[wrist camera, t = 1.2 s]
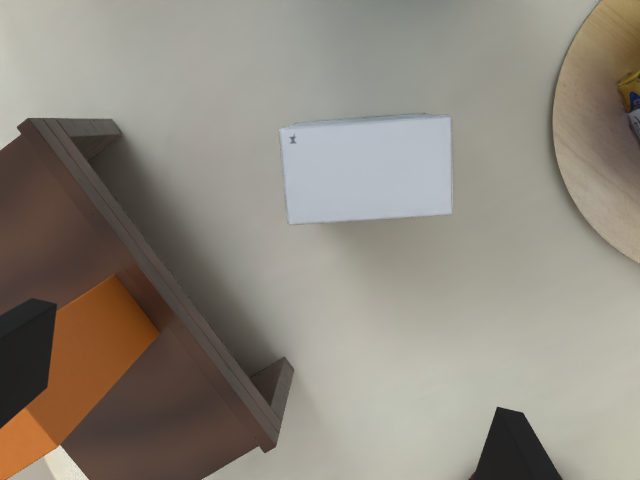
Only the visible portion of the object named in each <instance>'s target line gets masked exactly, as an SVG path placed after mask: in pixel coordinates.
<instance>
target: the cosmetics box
mask: <svg viewBox="0 0 640 480" xmlns="http://www.w3.org/2000/svg"><path fill="white" fill-rule="evenodd" d="M279 134H280V146H281V159H282V169H283V180H284V192H285V204H286V213H287V221H288V224H289V225H301V224H317V223H333V222H347V221H363V220H379V219H394V218H409V217H425V216H439V215H451V214H452V212H453V164H452V119H451V117H450V116H449V115H428V114H425V113H423V114H406V115H391V116H377V117H364V118H351V119H338V120H325V121H313V122H301V123H295V124H293V125H291V126H288V127H283V128H281V129H280V131H279Z"/></svg>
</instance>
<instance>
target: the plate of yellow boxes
mask: <svg viewBox="0 0 640 480" xmlns="http://www.w3.org/2000/svg"><path fill="white" fill-rule="evenodd" d="M553 138H554V146H555V153H556V157H557V162H558V166H559V169H560V172H561V175H562V177H563V180H564V183H565V185H566V187H567V189H568V192H569V193H570V195H571V197H572V199H573V201H574V202H575V204H576V206H577V207H578V209H579V211H580V212H581V213H582V215H583V216H584V217H585V219H586V220H587V221H588V222H589V223H590V225H591V226H592V227H593V228H594V229H595V230H596V231H597V232H598V233H599V234H600V235H601V236H602V237H603V238H604V239H605V240H606V241H607V242H608V243H609V244H611V245H612V246H613V247H615V248H616V249H617V250H619V251H620V252H621V253H623V254H624V255H626V256H627V257H629V258H630V259H632V260H634V261H636V262H638V263H639V264H640V0H601V2H600V3H599V4H598V5H597V6H596V7H595V9H594V10H593V11H592V12H591V14H590V15H589V16H588V18H587V19H586V21H585V22H584V24H583V25H582V27H581V28H580V30H579V32H578V33H577V35H576V37H575V38H574V40H573V42H572V44H571V46H570V48H569V51H568V53H567V55H566V57H565V60H564V63H563V65H562V68H561V71H560V75H559V79H558V83H557V87H556V92H555V97H554V105H553Z"/></svg>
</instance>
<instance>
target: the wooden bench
mask: <svg viewBox="0 0 640 480" xmlns="http://www.w3.org/2000/svg"><path fill="white" fill-rule="evenodd" d="M17 128H18V130H19V131H20V132H21V135H20V136H19V137H17V138H16V139H15V140H13V141H12V142H11V143H10V144H8V145H7V146H6V147H4V148H3V149H2V150H1V151H0V315H2V314H3V313H5V312H7V311H9V310H11V309H12V308H14V307H16V306H18V305H20V304H21V303H23V302H25V301H27V300H29V299H30V298H35V299H40V300H44V301H48V302H52V303H57V311H58V310H60V309H61V308H63V307H64V306H66V305H68V304H69V303H71V302H72V301H74V300H75V299H77V298H78V297H80V296H82V295H83V294H85V293H86V292H88V291H89V290H91V289H92V288H94V287H96V286H97V285H99V284H100V283H102V282H103V281H105V280H106V279H108V278H110V277H111V276H113V275H116V276H117V278H118V279H119V280H120V282H121V283H122V284H123V286H124V287H125V288H126V290H127V291H128V292H129V293H130V295H131V296H132V297H133V299H134V300H135V301H136V303H137V304H138V305H139V307H140V308H141V309H142V310H143V312H144V313H145V314H146V316H147V317H148V318H149V320H150V321H151V322H152V324H153V325H154V326H155V327H156V329H157V330H158V331H159V333H160V334H159V336H158V337H157V338H156V339H155V340H154V341H153V342H152V343H151V344H150V346H149V347H148V348H147V349H146V350H145V351H144V352H143V353H142V354H141V355H140V357H139V358H138V359H137V360H136V361H135V362H134V363H133V364H132V365H131V367H130V368H129V369H128V370H127V371H126V372H125V373H124V374H123V375H122V376H121V378H120V379H119V380H118V381H117V382H116V383H115V384H114V385H113V386H112V388H111V389H110V390H109V391H108V392H107V393H106V394H105V395H104V396H103V397H102V399H101V400H100V401H99V402H98V403H97V404H96V405H95V406H94V407H93V409H92V410H91V411H90V412H89V413H88V414H87V415H86V416H85V417H84V418H83V420H82V421H81V422H80V423H79V424H78V425H77V426H76V427H75V428H74V430H73V431H72V432H71V433H70V434H69V435H68V436H67V437H66V438H65V439H64V441H63V442H62V443H61V444H60V445H61V446H62V448H63V449H64V450H65V451H66V452H67V454H68V455H69V456H70V457H71V458H72V460H73V461H74V462H75V463H76V464H77V466H78V467H79V468H80V469H81V470H82V472H83V473H84V474H85V475H86V476H87V478H88V479H89V480H202V479H203V478H205V477H207V476H208V475H210V474H212V473H214V472H215V471H217V470H219V469H220V468H222V467H224V466H225V465H227V464H229V463H231V462H232V461H234V460H236V459H237V458H239V457H241V456H243V455H244V454H246V453H248V452H249V451H251V450H253V449H254V448H256V447H258V446H259V447H260V448H261V449H262V451H263V452H264V453H266V452H268V451H270V450H271V449H273V448H275V447H276V445H277V441H278V437H279V433H280V428H281V424H282V420H283V415H284V411H285V407H286V402H287V398H288V394H289V390H290V385H291V381H292V377H293V373H294V369H293V367H292V366H291V365H290V363H289V362H288V360H287V359H286V358H285V357H283V358H282V359H280V360H278V361H277V362H275V363H273V364H272V365H270V366H269V367H267V368H265V369H264V370H262V371H260V372H259V373H257V374H256V375H254V376H252V377H251V378H248V377H247V375H246V374H245V373H244V371H243V370H242V369H241V367H240V366H239V364H238V363H237V362H236V360H235V359H234V358H233V356H232V355H231V354H230V352H229V351H228V350H227V348H226V347H225V346H224V344H223V343H222V342H221V340H220V339H219V338H218V336H217V335H216V334H215V332H214V331H213V330H212V328H211V327H210V326H209V324H208V323H207V322H206V320H205V319H204V318H203V316H202V315H201V314H200V312H199V311H198V310H197V308H196V307H195V305H194V304H193V303H192V301H191V300H190V299H189V297H188V296H187V295H186V293H185V292H184V291H183V289H182V288H181V287H180V285H179V284H178V283H177V281H176V280H175V279H174V277H173V276H172V275H171V273H170V272H169V271H168V269H167V268H166V267H165V265H164V264H163V263H162V261H161V260H160V259H159V257H158V256H157V255H156V253H155V252H154V251H153V249H152V248H151V246H150V245H149V244H148V242H147V241H146V240H145V238H144V237H143V236H142V234H141V233H140V232H139V230H138V229H137V228H136V226H135V225H134V224H133V222H132V221H131V220H130V218H129V217H128V216H127V214H126V213H125V212H124V210H123V209H122V208H121V206H120V205H119V204H118V202H117V201H116V200H115V198H114V197H113V196H112V194H111V193H110V192H109V190H108V189H107V187H106V186H105V185H104V183H103V182H102V181H101V179H100V178H99V177H98V175H97V174H96V173H95V171H94V170H93V169H92V167H91V166H90V165H89V163H88V162H87V161H88V160H89V159H90V158H92V157H93V156H94V155H96V154H97V153H98V152H100V151H101V150H102V149H104V148H105V147H106V146H108V145H109V144H110V143H112V142H113V141H114V140H116V139H117V138H118V137H120V136H121V135H122V132H121V131H120V130H119V128H118V127H117V125H116V124H115V123H114V121H113V120H112V119H68V118H27V119H26V120H25V121H24V122H22V123H21V124H20V125H19V126H17ZM57 311H56V312H57Z"/></svg>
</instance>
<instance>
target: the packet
mask: <svg viewBox="0 0 640 480" xmlns="http://www.w3.org/2000/svg"><path fill="white" fill-rule="evenodd" d="M159 334H160V333H159V331H158V330H157V329H156V327H155V326H154V325H153V324H152V322H151V321H150V320H149V318H148V317H147V316H146V314H145V313H144V312H143V310H142V309H141V308H140V307H139V305H138V304H137V303H136V301H135V300H134V299H133V297H132V296H131V295H130V293H129V292H128V291H127V290H126V288H125V287H124V286H123V284H122V283H121V282H120V280H119V279H118V278H117V276H116V275H113V276H111V277H110V278H108V279H106V280H105V281H103V282H102V283H100V284H99V285H97V286H96V287H94V288H92V289H91V290H89V291H88V292H86V293H85V294H83V295H82V296H80V297H78V298H77V299H75V300H74V301H72V302H71V303H69V304H68V305H66V306H64V307H63V308H61V309H60V310H58V311H57V312H56V319H55V328H54V336H53V345H52V353H51V362H50V370H49V379H48V387H47V388H46V389H45V390H44V391H43V392H42V393H41V394H40V395H38V396H37V397H36V398H35V399H34V400H33V401H32V402H31V403H29V404H28V405H27V406H26V407H25V408H24V409H23V410H21V411H20V412H19V413H18V414H17V415H16V416H15V417H13V418H12V419H11V420H10V421H9V422H8V423H7V424H6V425H4V426H3V427H2V428H1V429H0V480H7V479H8V478H10V477H11V476H13V475H15V474H16V473H18V472H19V471H21V470H22V469H24V468H26V467H27V466H29V465H30V464H32V463H33V462H35V461H37V460H38V459H40V458H41V457H43V456H44V455H46V454H48V453H49V452H51V451H52V450H54V449H55V448H57V447H58V446H59V445H60V444H61V443H62V442H63V441H64V439H65V438H66V437H67V436H68V435H69V434H70V433H71V432H72V431H73V430H74V428H75V427H76V426H77V425H78V424H79V423H80V422H81V421H82V420H83V418H84V417H85V416H86V415H87V414H88V413H89V412H90V411H91V410H92V409H93V407H94V406H95V405H96V404H97V403H98V402H99V401H100V400H101V399H102V397H103V396H104V395H105V394H106V393H107V392H108V391H109V390H110V389H111V388H112V386H113V385H114V384H115V383H116V382H117V381H118V380H119V379H120V378H121V376H122V375H123V374H124V373H125V372H126V371H127V370H128V369H129V368H130V367H131V365H132V364H133V363H134V362H135V361H136V360H137V359H138V358H139V357H140V355H141V354H142V353H143V352H144V351H145V350H146V349H147V348H148V347H149V346H150V344H151V343H152V342H153V341H154V340H155V339H156V338H157V337H158V336H159Z"/></svg>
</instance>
